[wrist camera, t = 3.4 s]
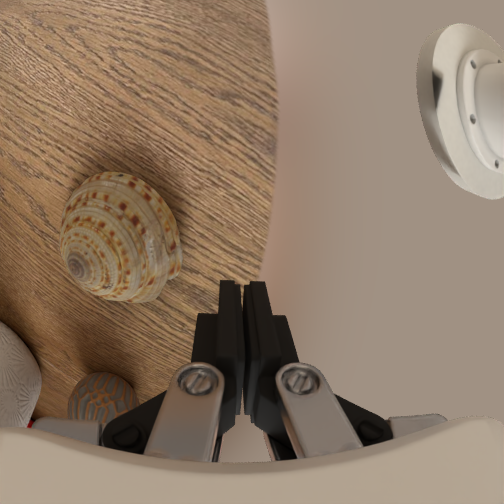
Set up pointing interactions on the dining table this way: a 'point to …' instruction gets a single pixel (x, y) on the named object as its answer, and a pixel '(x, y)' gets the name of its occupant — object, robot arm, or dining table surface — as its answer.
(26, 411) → the planter
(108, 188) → the seashell
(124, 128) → the dining table surface
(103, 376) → the vase
